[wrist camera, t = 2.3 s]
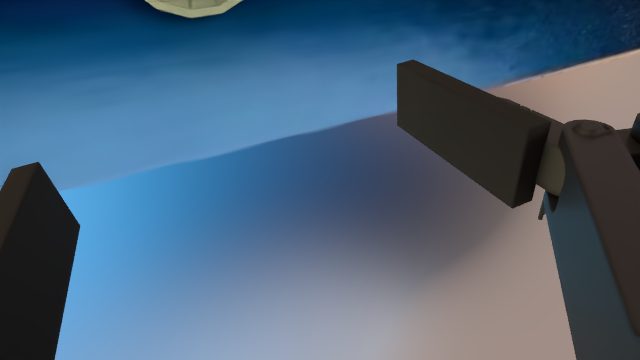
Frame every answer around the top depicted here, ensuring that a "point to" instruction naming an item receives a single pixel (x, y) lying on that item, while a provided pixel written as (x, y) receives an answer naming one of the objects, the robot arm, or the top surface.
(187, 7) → the bowl
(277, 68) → the top surface
